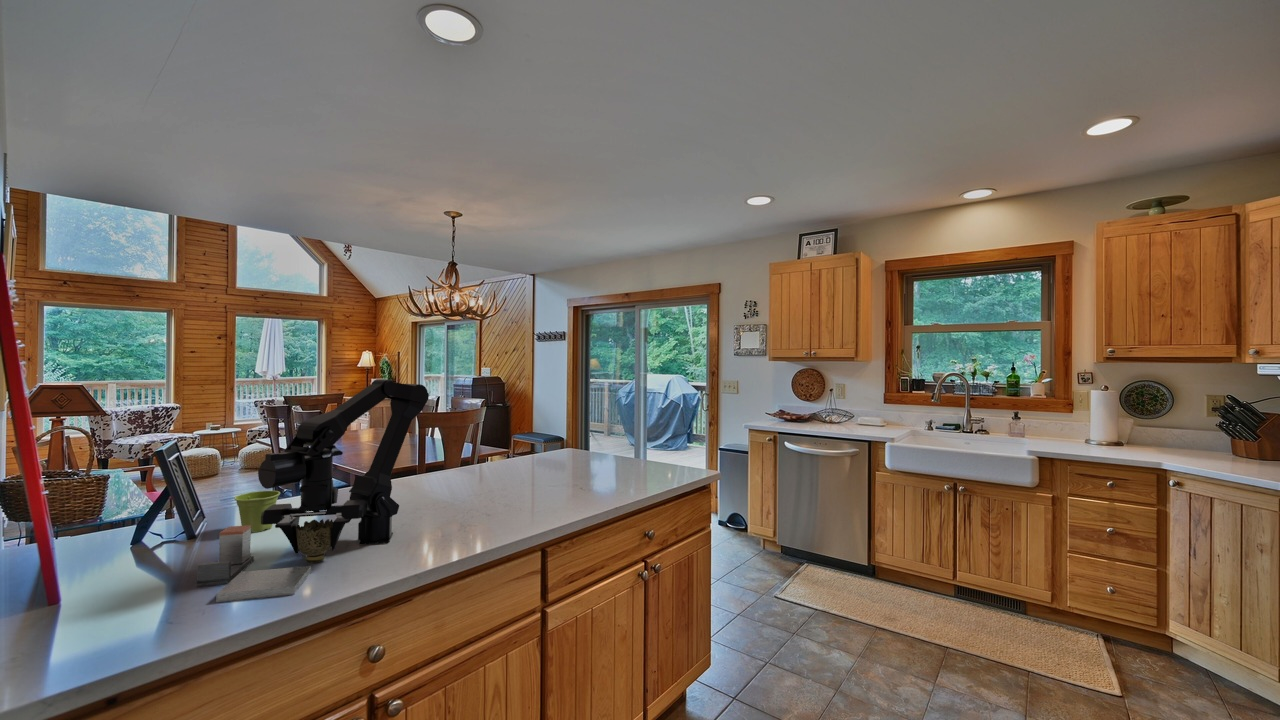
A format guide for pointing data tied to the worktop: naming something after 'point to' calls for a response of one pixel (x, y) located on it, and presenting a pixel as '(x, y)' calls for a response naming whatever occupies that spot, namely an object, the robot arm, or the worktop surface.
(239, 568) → the press rail
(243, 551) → the small box
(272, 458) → the robot arm
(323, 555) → the cup
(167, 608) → the worktop surface
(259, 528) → the plant pot
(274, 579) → the flat plate
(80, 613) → the worktop surface
